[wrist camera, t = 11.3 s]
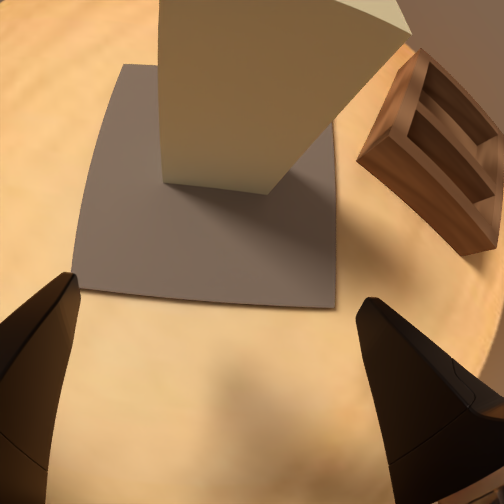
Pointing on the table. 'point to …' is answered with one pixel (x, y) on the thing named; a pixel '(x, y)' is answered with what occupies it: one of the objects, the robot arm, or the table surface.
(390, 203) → the table surface
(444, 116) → the slotted box
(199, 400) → the table surface
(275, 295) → the rubber mat
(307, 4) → the beige rectangular block
